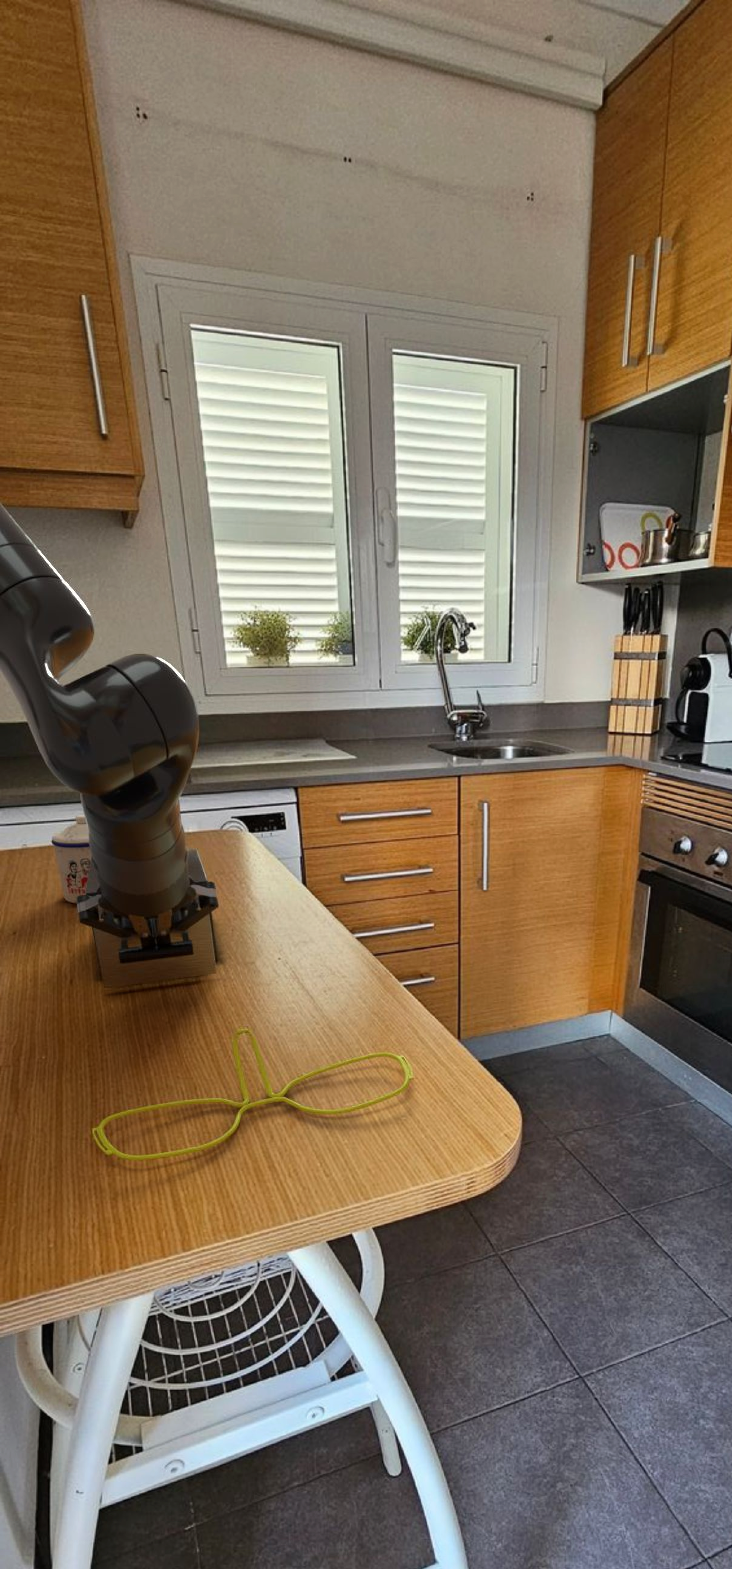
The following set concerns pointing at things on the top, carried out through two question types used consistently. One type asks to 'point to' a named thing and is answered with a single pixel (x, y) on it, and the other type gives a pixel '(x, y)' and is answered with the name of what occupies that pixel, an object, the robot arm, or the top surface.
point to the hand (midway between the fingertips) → (156, 943)
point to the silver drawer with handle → (156, 956)
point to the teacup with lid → (73, 858)
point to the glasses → (244, 1105)
